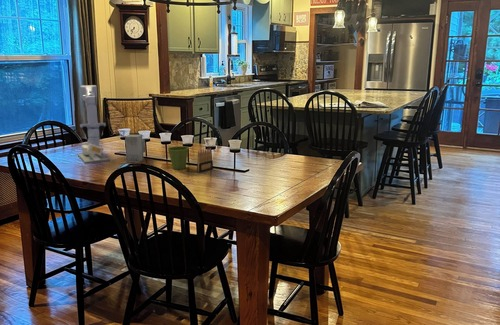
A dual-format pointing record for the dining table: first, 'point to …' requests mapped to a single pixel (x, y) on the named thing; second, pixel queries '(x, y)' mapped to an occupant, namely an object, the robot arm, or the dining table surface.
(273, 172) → the dining table surface
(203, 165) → the ammunition clip
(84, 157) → the rail board
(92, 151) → the module
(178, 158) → the plant pot
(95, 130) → the robot arm
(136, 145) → the circuit breaker
